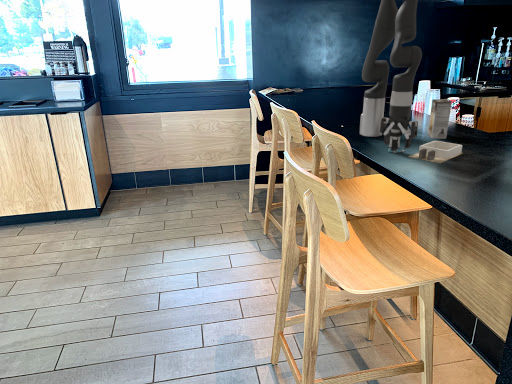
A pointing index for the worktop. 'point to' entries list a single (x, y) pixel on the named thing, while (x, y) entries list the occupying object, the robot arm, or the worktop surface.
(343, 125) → the worktop surface
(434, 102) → the coffee box
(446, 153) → the white open box
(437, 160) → the board
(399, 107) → the robot arm
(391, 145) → the push button
